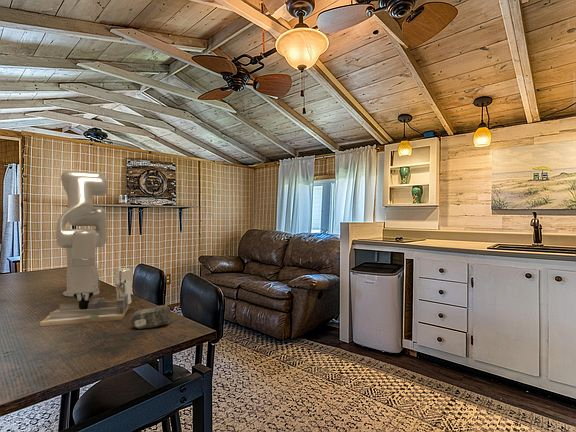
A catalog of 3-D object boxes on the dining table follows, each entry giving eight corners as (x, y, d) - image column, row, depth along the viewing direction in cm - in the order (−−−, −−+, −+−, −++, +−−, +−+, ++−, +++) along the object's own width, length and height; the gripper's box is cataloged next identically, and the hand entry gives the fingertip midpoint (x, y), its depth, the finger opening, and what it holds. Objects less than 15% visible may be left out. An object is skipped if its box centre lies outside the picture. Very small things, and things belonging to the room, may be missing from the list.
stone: (143, 344, 111) (128, 319, 110) (140, 340, 117) (125, 317, 116) (180, 319, 119) (166, 295, 117) (174, 317, 125) (161, 294, 123)
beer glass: (135, 303, 144) (135, 269, 144) (118, 306, 139) (118, 271, 139) (128, 300, 149) (128, 267, 149) (112, 303, 144) (112, 269, 144)
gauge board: (57, 312, 131) (57, 296, 131) (128, 307, 139) (128, 292, 138) (40, 326, 115) (40, 308, 115) (121, 319, 123) (121, 302, 123)
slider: (93, 308, 131) (93, 296, 131) (104, 307, 132) (104, 296, 132) (84, 317, 120) (84, 305, 119) (97, 316, 121) (97, 304, 121)
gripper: (57, 265, 120) (57, 314, 121) (103, 263, 125) (103, 311, 125) (64, 261, 127) (65, 308, 128) (107, 260, 132) (107, 305, 132)
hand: (83, 309), depth 126 cm, fingers closed
